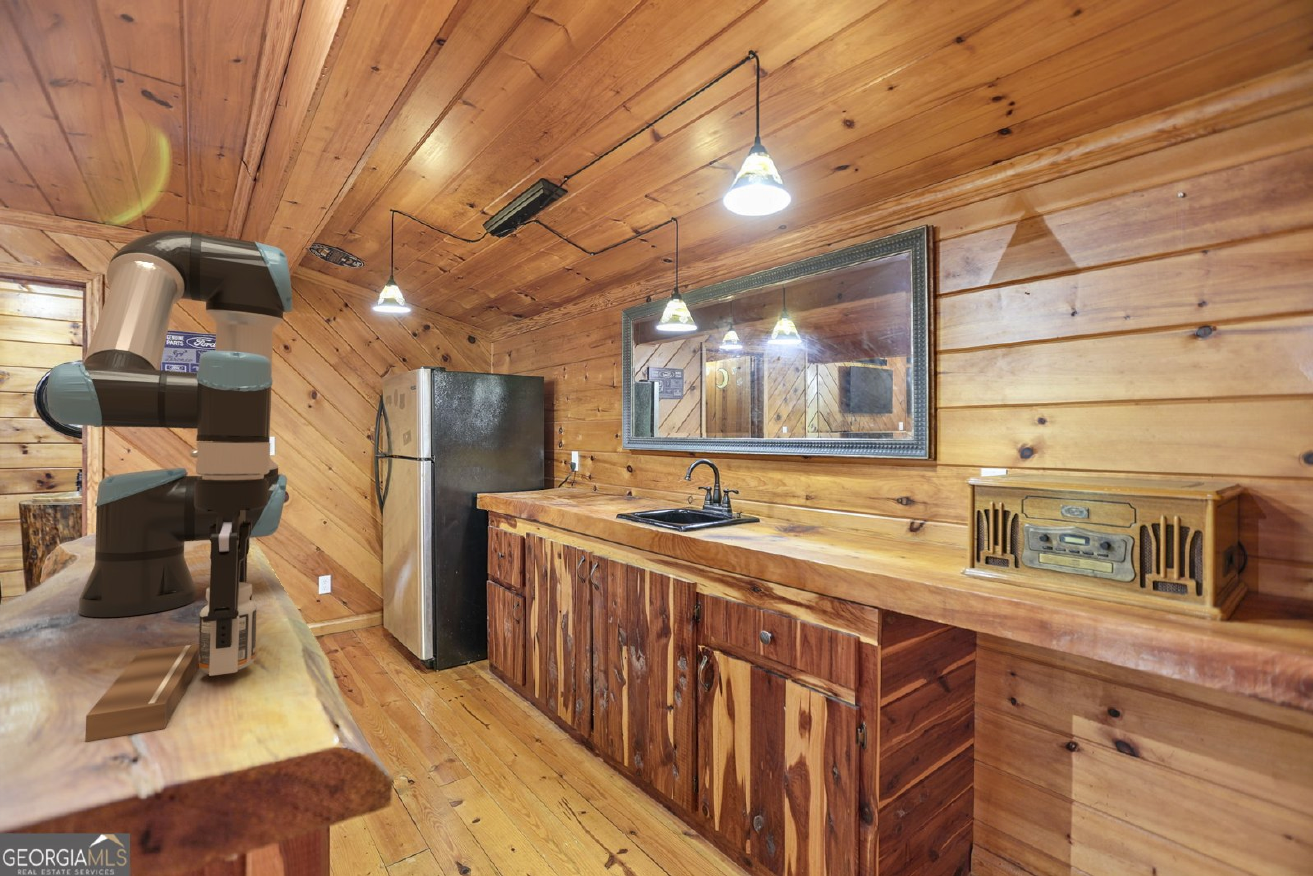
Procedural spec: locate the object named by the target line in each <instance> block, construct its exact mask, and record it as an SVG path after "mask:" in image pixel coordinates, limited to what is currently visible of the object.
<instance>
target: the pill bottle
mask: <svg viewBox="0 0 1313 876" xmlns="http://www.w3.org/2000/svg"><path fill="white" fill-rule="evenodd" d="M251 594H252V595H253V585H252V583H250V582H247V583H244V582H239V594H238V611H239V614H238V616H239V647H238V671H239V670H243V669H244V668H247V667H249V666H250V665H251V664H253V662H254V661H255V659H256V642H257V639H256V636H257V635H256V634H257V606H256V605H257V604H256V603H255V602H254V601H252V600H250V596H251ZM209 598H210V586H209V587H207V588H206V590H205V600H206V601H207V604H206V605H205V606H204V607H203V608H202V609H201V610H200V613H199V625H198V627H199V630H198V644H199V666H198V669H199V670H200V672H202V673H205V674H209V666H210V632H211V621H209V622H203V616H208V612H209ZM222 608H225V607H222Z"/></svg>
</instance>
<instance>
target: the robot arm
mask: <svg viewBox="0 0 1313 876" xmlns="http://www.w3.org/2000/svg"><path fill="white" fill-rule="evenodd" d="M105 277H106V281H107V284H108V286H109V287H110V288H109V290H108V293H107V296H106V298H105V301H104V304H103V307H102V309H101V312H100V315H99V318H98V320H97V323H96V326H95V329H94V332H93V334H92V337H91V340H90V342H89V346H88V349H87V351H86V355H85V357H84V360H83V363H81V362H76V363H71V364H70V363H69V364H68V363H62V364H58V365H55V366H54V367H52V369H51V370H50V372H49V375H48V378H47V387H46V399H47V400H46V401H47V408H48V411H49V414H50V417H52V419H53V420H54V421H55V422H57V423H59V424H62V425H63V424H64V425H75V426H89V427H94V428H104V427H105V428H106V427H107V428H111V427H112V428H168V429H193V430H194V429H196V434H197V435H196V438H195V439H196V445H195V446H196V448H197V449H191V450H190V452H189V457H191V458H197V459H196V460H195V473H196V474H197V475H188V473H189V472H188V471H187V469H186V468H185V467H174V468H162V469H152V470H143V471H134V472H126V473H118V474H113V475H108V476H106V477H104V478H103V479H101V481H100V482H99V483H98V487H97V495H96V502H95V503H94V507H96V510H95V511H96V515H95V518H96V519H95V520H96V521H95V547H94V549H95V553H94V554H95V555H94V565H93V567H92V570H91V572H90V574H89V576H88V579H87V581H86V584H85V586H84V588H83V590H82V592H81V595H80V597H79V600H78V614H79V615H81V616H84V617H91V618H118V617H131V616H139V615H146V614H152V613H158V612H163V611H168V610H172V609H176V608H180V607H183V606H186V605H189V604H191V603H193V602H194V601H196V600H195V599H196V585H195V582H194V580H193V577H192V575H191V572H190V570H189V567H188V564H187V562H186V559H185V542H199V541H209V542H210V556H209V559H210V570H209V571H210V573H209V574H210V576H209V577H210V578H209V587H210V598H209V612H208V616H203V622H209V621H211V632H210V666H209V673H208V674H209V675H208V676H211V677H212V676H219V675H225V674H226V675H227V674H234V673H238V671H239V670H238V647H239V616H238V614H239V611H238V594H239V582H244V583H248V582H247V581H248V577H247V576H248V555H249V550H250V539H252V538H263V537H270V536H271V535H273V534H275V533H276V531H277V530H278V529H279V526H280V523H281V519H282V515H283V508H284V504H285V498H286V490H287V484H288V478H287V476H286V475H284V474H282V473H279V464H277V463H276V462H275V461H274V460H273V459H272V458H271V442H270V439H271V438H270V437H271V413H272V412H271V411H272V410H271V409H272V407H271V406H272V386H273V382H274V380H273V376H272V374H273V344H274V343H273V341H274V329H275V328H277V327H278V325H280V324H282V323H283V322H284V313H286V314H287V313H291V312H292V311H293V307H294V306H293V296H292V295H293V294H292V292H293V291H292V283H291V274H290V267H289V262H288V258H287V255H286V252H284V250H282V249H281V248H279V247H277V246H272V245H269V244H265V243H260V242H258V241H252V240H251V241H250V240H244V239H238V238H231V237H226V236H219V235H213V234H208V233H207V234H205V233H201V232H195V231H190V230H185V229H168V230H167V229H166V230H160V231H156V232H155V231H154V232H151V233H148V234H145V235H142V236H140V237H137V238H135V239H133V240H131V241H130V242H128V243H126V244H125V245H124V246H122V247H121V248H119V250H117V252H116V253H114V255H113V256H112V258H111V259H110V261H109V264H108V266H107V269H106V276H105ZM180 300H190V301H193V302H194V301H196V302H203V303H204V302H205V313H206V314H207V315H208V316H209V317H210V318H211V319H212V320H213V321H214V323H215V350H209V351H205V352H203V353H201V355H200V356H199V361H198V371H197V372H191V371H178V370H177V371H174V370H166V369H165V370H164V369H163V370H161V364H162V359H163V355H164V351H165V345H166V340H167V336H168V331H169V327H170V321H171V317H172V312H173V307H174V305H175V304H176V303H178V302H179V301H180ZM252 597H253V593H252V594H251V596H250V600H251V601H252ZM222 607H225V608H222Z"/></svg>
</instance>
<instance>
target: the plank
mask: <svg viewBox="0 0 1313 876" xmlns="http://www.w3.org/2000/svg"><path fill="white" fill-rule="evenodd" d="M198 668H199V643H195V644H186V645H177V646H169V647H159V648H149V649H142V650H140V651H139V652H138V653H137V654H136V656H135V657H134V658H133V659H132V660H131V661H130V663H129V664H128V665H127V666H126V668H125V669H124V670H123V671H122V673H120V675H119V676H118V677H117V678H116V679H115V681H114V682H113V683H112V684H111V686H110V687H109V688H108V689H107V690H106V691H105V693H103V695H102V696H101V697H100V699H99V700H98V701H97V702H96V703H95V704H94V706H93V707H92V708H91V709H90V710H89V712H88V713H87V714H86V715H85V735H84V736H85V737H84V738H85V739H84V740H85V743H86V742H87V743H88V742H91V741H97V740H98V739H99V740H102V739H104V738H105V739H109V738H110V739H111V738H115V737H121V736H127V735H133V734H140V733H146V732H152V731H159V730H164V729H166V728H167V725H168V723H169V721H170V720H171V717H172V716H173V714H174V712H175V710H176V708H177V707H178V704H179V703H180V700H181V699H182V697H183V695H184V693H185V692H186V689H187V688H188V686H189V684H190V682H191V680H192V679H193V676H194V675H195V673H196V670H197V669H198Z"/></svg>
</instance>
